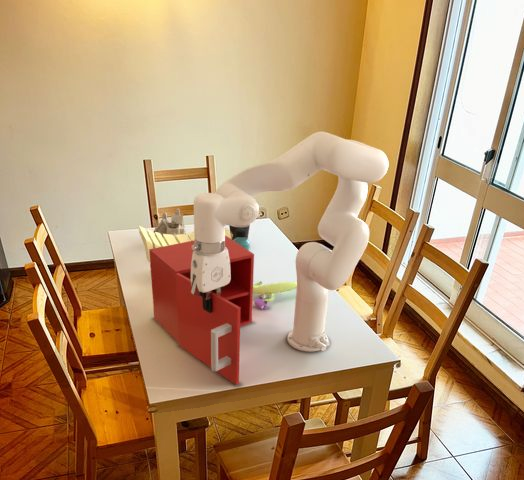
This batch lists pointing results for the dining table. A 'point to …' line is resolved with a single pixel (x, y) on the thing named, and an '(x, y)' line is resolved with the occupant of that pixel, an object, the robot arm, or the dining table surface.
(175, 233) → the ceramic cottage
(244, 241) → the beverage bottle
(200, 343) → the fridge door
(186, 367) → the dining table surface
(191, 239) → the slatted curved stool
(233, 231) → the coffee mug
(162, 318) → the box
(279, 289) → the figurine
